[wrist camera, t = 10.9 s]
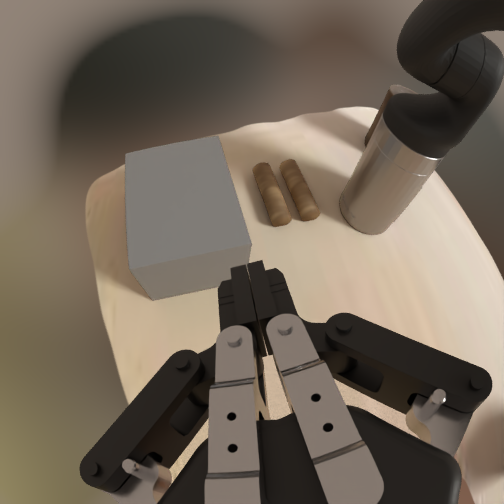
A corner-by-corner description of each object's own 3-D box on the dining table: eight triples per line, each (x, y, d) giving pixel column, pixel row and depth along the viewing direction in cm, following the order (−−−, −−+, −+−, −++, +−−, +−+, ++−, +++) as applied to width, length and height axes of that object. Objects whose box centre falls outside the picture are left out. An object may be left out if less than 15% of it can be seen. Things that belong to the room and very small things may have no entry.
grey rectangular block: (218, 185, 43) (218, 135, 34) (245, 281, 37) (251, 243, 28) (142, 200, 41) (125, 153, 32) (153, 301, 34) (129, 269, 25)
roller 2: (283, 158, 43) (277, 171, 45) (307, 210, 39) (298, 222, 41) (298, 159, 44) (292, 171, 46) (323, 210, 40) (314, 221, 42)
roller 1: (249, 168, 43) (256, 177, 45) (269, 221, 39) (276, 229, 41) (266, 159, 42) (272, 169, 44) (288, 213, 38) (294, 221, 40)
